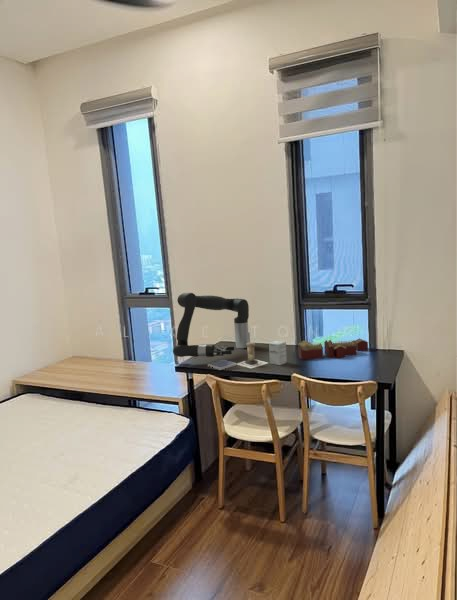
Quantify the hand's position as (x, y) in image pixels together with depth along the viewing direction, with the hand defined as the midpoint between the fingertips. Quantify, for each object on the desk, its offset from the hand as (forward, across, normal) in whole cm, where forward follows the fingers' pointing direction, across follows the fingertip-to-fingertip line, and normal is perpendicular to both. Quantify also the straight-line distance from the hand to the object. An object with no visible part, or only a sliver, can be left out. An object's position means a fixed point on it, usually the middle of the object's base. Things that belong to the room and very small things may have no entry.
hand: (232, 350), depth 268 cm
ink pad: (-6, -4, +8) cm, 11 cm away
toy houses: (+60, +21, +9) cm, 64 cm away
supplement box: (+26, +1, +8) cm, 28 cm away
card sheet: (+11, 0, +8) cm, 14 cm away
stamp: (+11, 0, +8) cm, 13 cm away
